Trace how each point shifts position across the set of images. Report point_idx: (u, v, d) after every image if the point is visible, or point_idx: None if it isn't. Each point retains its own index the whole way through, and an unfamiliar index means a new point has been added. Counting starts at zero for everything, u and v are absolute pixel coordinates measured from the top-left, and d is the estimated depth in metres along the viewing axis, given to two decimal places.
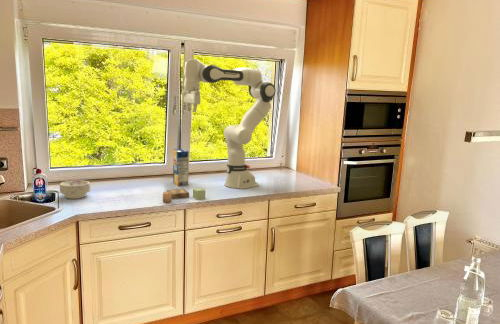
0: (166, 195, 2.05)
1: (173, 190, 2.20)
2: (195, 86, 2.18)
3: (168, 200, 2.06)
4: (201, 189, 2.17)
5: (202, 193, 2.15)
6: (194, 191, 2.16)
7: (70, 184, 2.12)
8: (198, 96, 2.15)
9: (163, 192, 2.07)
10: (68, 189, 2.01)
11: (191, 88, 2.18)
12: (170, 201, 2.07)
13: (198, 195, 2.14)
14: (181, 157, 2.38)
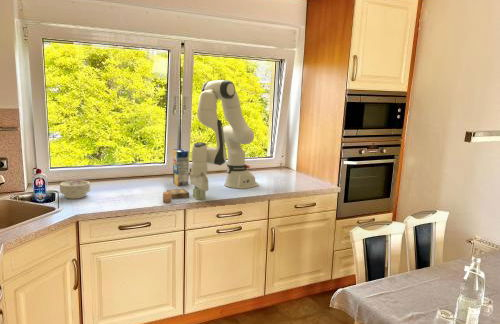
0: (166, 195, 2.05)
1: (173, 190, 2.20)
2: (203, 171, 2.11)
3: (168, 200, 2.06)
4: None
5: None
6: (194, 191, 2.16)
7: (70, 184, 2.12)
8: (206, 183, 2.07)
9: (163, 192, 2.07)
10: (68, 189, 2.01)
11: (199, 173, 2.10)
12: (170, 201, 2.07)
13: (198, 195, 2.14)
14: (181, 157, 2.38)
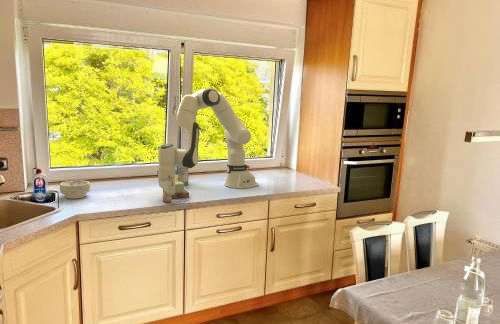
0: (166, 195, 2.05)
1: None
2: (170, 174, 2.01)
3: (168, 200, 2.06)
4: (177, 183, 2.17)
5: None
6: None
7: (70, 184, 2.12)
8: (173, 186, 1.98)
9: (163, 192, 2.07)
10: (68, 189, 2.01)
11: (165, 176, 2.01)
12: (170, 201, 2.07)
13: None
14: None
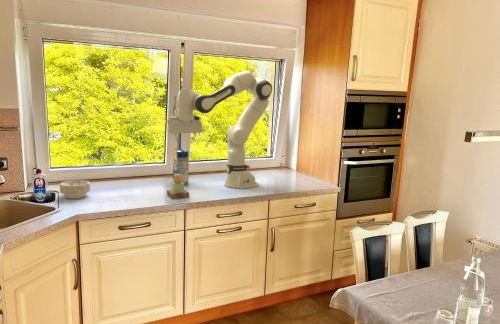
0: (174, 176, 2.17)
1: None
2: (178, 115, 2.17)
3: (174, 181, 2.17)
4: None
5: (173, 186, 2.17)
6: None
7: (70, 184, 2.12)
8: (168, 125, 2.15)
9: None
10: (68, 189, 2.01)
11: None
12: (175, 183, 2.16)
13: (172, 187, 2.19)
14: (181, 157, 2.38)
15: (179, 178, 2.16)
